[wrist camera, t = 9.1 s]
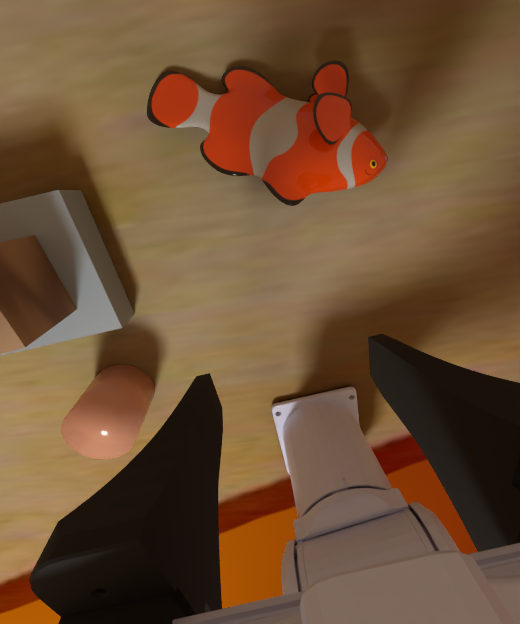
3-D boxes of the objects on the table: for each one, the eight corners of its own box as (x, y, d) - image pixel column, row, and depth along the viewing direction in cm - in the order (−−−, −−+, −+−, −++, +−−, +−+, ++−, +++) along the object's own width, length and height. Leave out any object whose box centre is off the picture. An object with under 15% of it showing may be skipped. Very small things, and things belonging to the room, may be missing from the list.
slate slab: (136, 311, 22) (122, 327, 20) (26, 336, 22) (-3, 356, 20) (84, 190, 19) (58, 189, 16) (-46, 220, 19) (-94, 225, 16)
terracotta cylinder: (162, 404, 25) (146, 450, 21) (109, 416, 26) (81, 465, 21) (141, 358, 23) (119, 398, 19) (84, 371, 24) (47, 415, 19)
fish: (432, 126, 14) (317, 260, 16) (385, 142, 18) (300, 246, 21) (220, -138, 10) (108, 85, 12) (225, -39, 15) (141, 113, 17)
